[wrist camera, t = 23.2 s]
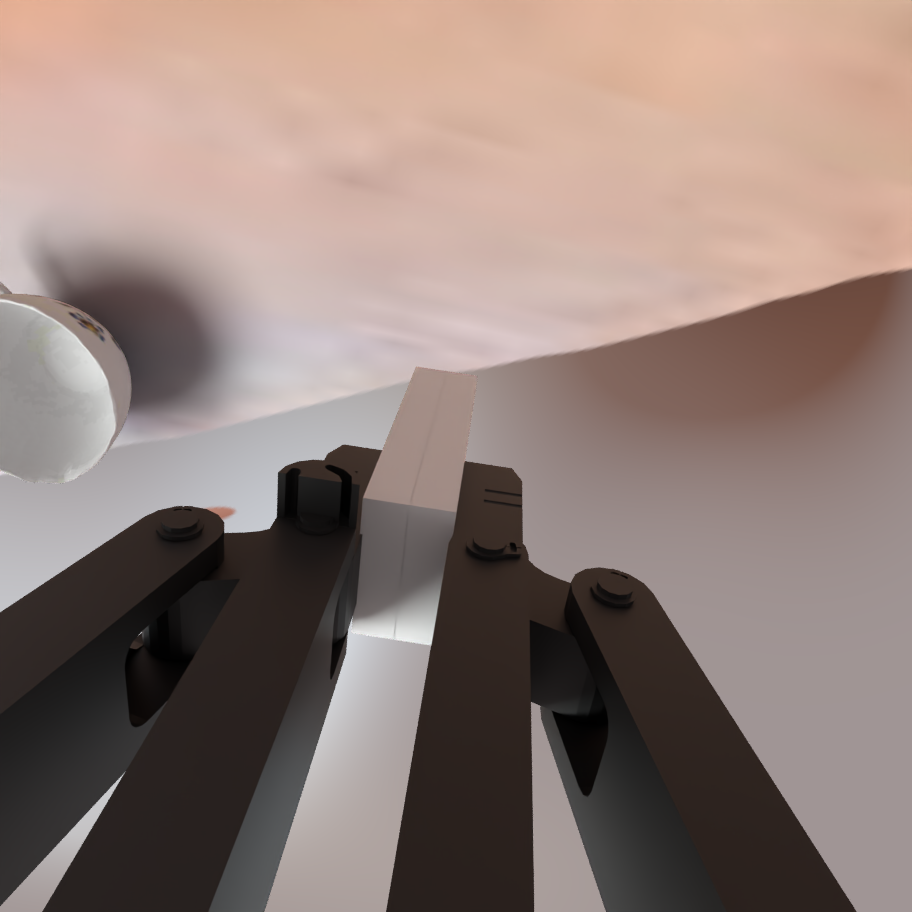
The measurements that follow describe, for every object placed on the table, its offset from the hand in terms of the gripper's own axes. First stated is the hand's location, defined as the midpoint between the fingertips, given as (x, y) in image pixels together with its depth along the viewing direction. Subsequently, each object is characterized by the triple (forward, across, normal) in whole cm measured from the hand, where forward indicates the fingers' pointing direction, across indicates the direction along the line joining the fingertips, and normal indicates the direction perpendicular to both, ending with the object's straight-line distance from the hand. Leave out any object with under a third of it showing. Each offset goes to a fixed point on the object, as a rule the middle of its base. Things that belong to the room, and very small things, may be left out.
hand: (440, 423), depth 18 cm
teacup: (+33, -29, -12) cm, 45 cm away
